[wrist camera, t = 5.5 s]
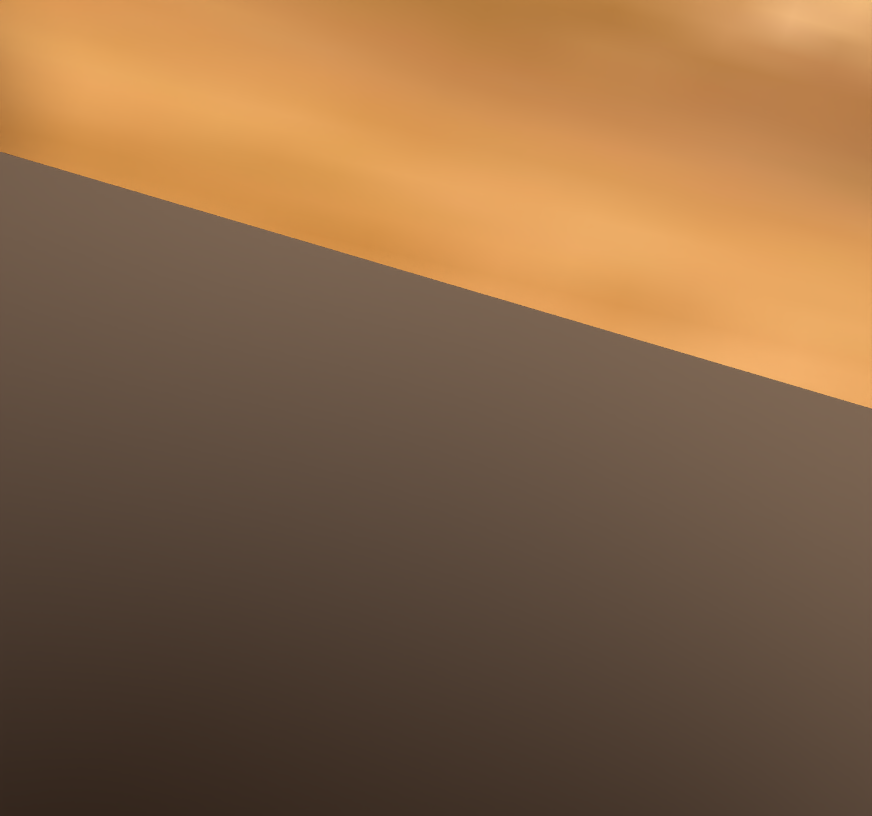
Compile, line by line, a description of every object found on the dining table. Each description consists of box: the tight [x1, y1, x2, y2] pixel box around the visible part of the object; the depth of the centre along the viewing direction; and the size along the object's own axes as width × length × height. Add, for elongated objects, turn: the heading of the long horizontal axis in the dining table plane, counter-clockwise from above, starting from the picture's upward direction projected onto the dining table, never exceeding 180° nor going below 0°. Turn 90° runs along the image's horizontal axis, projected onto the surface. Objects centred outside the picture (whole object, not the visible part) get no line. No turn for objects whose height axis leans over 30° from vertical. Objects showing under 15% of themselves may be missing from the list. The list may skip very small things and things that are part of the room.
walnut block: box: [0, 152, 872, 816], centre depth 9 cm, size 5×5×13 cm
